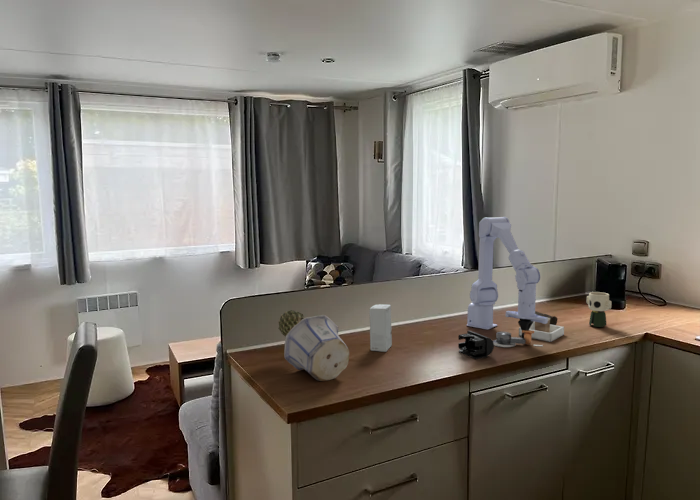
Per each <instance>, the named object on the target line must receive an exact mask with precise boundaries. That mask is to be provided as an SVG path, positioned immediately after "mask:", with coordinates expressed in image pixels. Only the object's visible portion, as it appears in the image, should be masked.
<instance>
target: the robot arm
mask: <svg viewBox="0 0 700 500" xmlns="http://www.w3.org/2000/svg"><path fill="white" fill-rule="evenodd" d="M511 228H512V223H511V222H510V220H509V217H507V216H500V217H499V216H498V217H495V216H494V217H485V216H484V217H483V218H482V219H481V220H480V221H479V223H478V238H479V245H478V251H479V252H478V275H477V278H478V279H477V280H476V281H474V282H473V283H472V284H471V290H470V291H469V292H470V293H469V299H470V301H471V302H470V303H469V304H468V306H467V319H466V320H467V324H466V326H467V327H471V328H472V327H473V328H477V329H483V330H490V329H493V328H494V327H497V326H498V324H496V323H494V305H495V304H496V302H497V301H498V299H499V292H498V284H497V283H496V282H495V281H493V272H494V271H493V267H494V244H495V240H496V239H497V238H498V239H500V241H501V243H502V244H503V246H504V248H505V249H506V251H507V252H508V253H509V254H508V260H509V263H510V264H511V265H512V267H513V270H514V271H515V275H514V277H515V278H514V279H515V282H516V287H517V290H518V297H517V299H518V300H517V302H518V303H517V311H515V310H513V311H512V310H506V311H505V317H506V318H512V319H513V318H514V319H518V321H517V324H518V326H519V328H521V330H529V329H530V327H531V325H532V323H533V322H540V323H543V324H546V323H548V317H543V316H540V315H536V314H535V311H536V300H537V299H536V298H537V296H536V295H537V284H538V283H540V280H541V272H540V270H539V269H538V268H537V267H536V266H534V264H531V262H530V260H529V259H528V256H527V255H526V253H525V251H524V250H522V249H519V246H518V245H517V243H516V241H515V238H514V235H513V234H512V231H511V230H512V229H511ZM521 338H524V333H522V336H521Z"/></svg>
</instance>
